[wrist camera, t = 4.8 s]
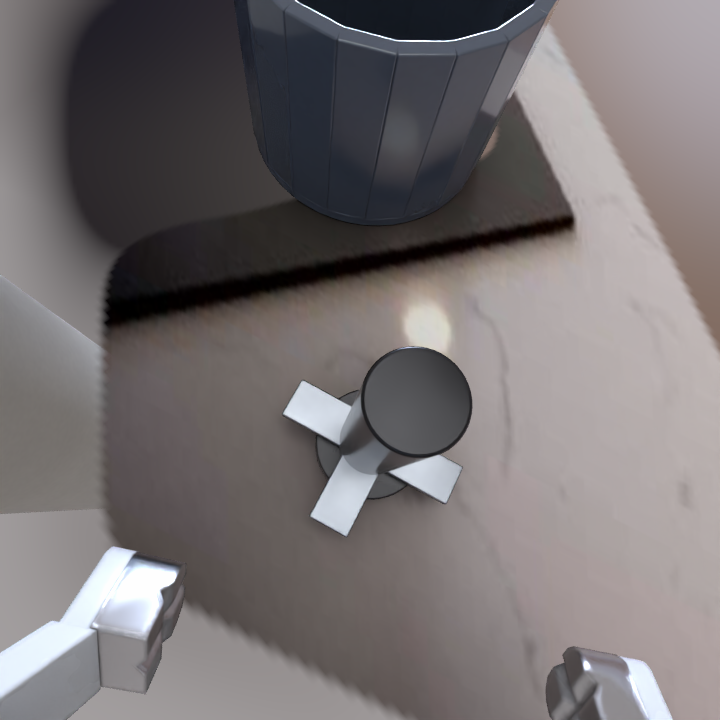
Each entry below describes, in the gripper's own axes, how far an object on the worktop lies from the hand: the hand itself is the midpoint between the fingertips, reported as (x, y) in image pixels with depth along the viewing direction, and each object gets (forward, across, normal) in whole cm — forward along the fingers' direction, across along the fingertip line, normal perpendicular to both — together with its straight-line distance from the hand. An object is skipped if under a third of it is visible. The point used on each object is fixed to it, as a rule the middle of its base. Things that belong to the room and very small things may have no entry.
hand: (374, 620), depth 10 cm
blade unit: (+10, 0, +3) cm, 11 cm away
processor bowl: (+21, +3, -8) cm, 23 cm away
